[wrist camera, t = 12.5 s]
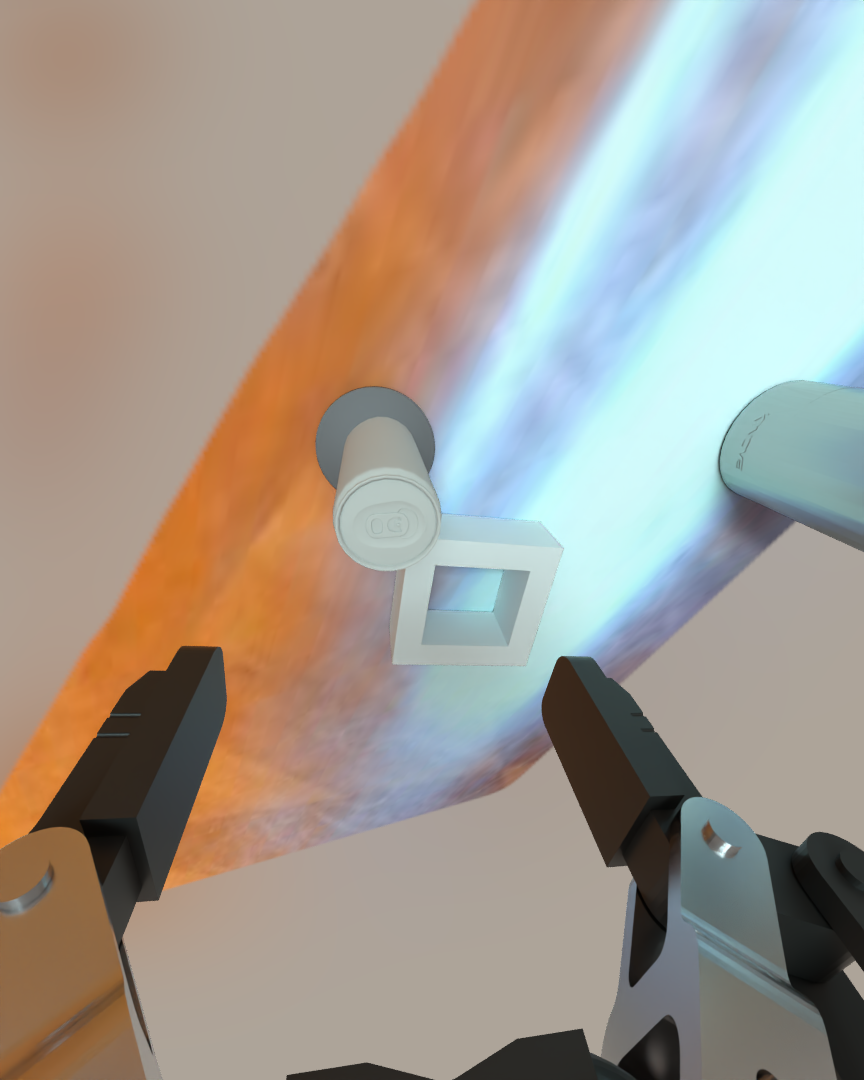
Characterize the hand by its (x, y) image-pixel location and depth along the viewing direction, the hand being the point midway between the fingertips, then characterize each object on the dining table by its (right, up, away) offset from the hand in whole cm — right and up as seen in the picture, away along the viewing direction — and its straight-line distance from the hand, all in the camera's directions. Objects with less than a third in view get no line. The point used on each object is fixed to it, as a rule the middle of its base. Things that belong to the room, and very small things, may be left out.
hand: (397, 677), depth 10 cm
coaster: (-3, +10, +19) cm, 21 cm away
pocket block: (+3, 0, +25) cm, 25 cm away
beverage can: (-3, +10, +19) cm, 21 cm away
